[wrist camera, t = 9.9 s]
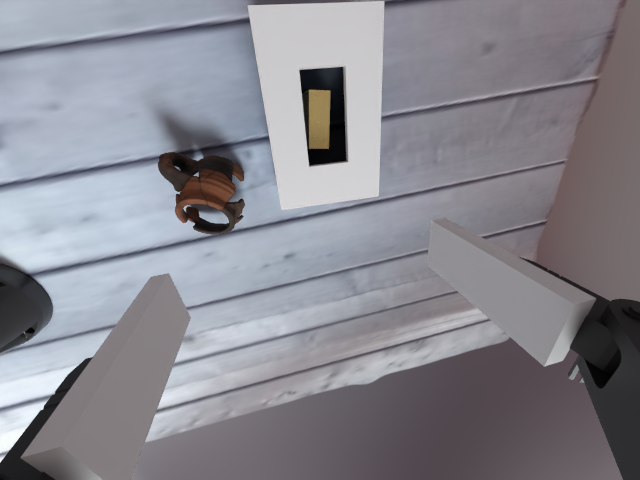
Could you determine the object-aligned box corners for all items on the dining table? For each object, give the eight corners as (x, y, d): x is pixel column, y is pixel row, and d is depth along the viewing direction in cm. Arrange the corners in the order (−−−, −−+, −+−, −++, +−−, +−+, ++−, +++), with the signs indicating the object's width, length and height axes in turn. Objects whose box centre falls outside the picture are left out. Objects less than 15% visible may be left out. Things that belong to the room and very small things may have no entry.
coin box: (278, 188, 37) (281, 210, 28) (254, 40, 29) (247, 5, 20) (353, 179, 39) (378, 196, 30) (350, 35, 30) (384, 1, 22)
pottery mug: (264, 180, 37) (255, 222, 32) (227, 206, 41) (215, 246, 37) (187, 118, 29) (161, 162, 24) (152, 159, 34) (125, 202, 29)
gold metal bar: (302, 143, 35) (309, 148, 29) (301, 95, 32) (308, 89, 26) (318, 143, 35) (328, 148, 29) (318, 96, 33) (330, 90, 26)
